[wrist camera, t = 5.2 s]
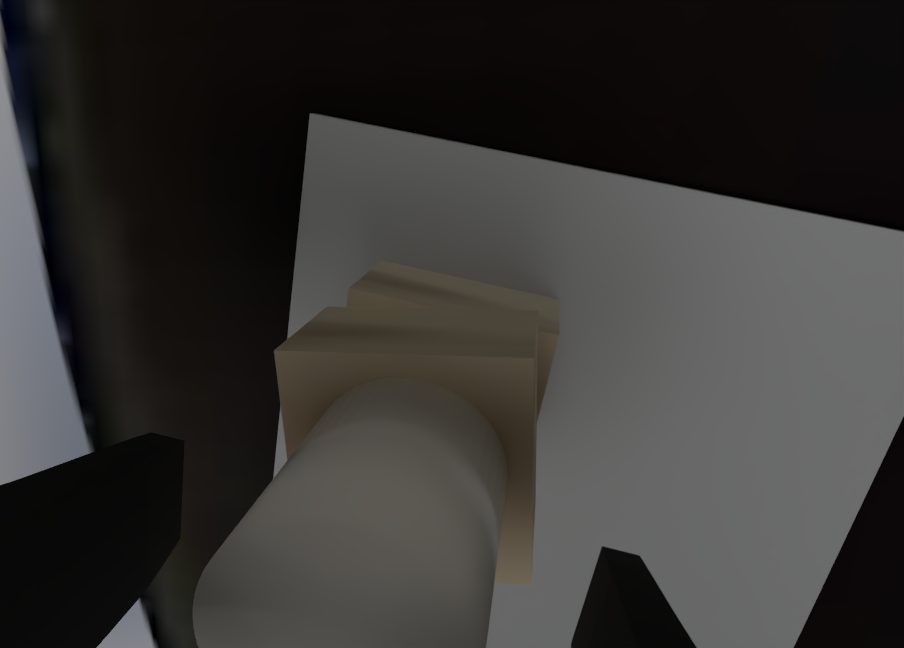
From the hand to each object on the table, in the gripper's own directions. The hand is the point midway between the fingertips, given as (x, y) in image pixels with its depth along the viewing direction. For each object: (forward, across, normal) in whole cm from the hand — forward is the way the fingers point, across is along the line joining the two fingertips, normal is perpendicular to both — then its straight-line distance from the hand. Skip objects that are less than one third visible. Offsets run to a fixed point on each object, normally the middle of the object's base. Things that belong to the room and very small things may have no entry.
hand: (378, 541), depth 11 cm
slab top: (+5, 0, 0) cm, 5 cm away
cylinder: (+2, 0, 0) cm, 2 cm away
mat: (+9, -4, +4) cm, 10 cm away
